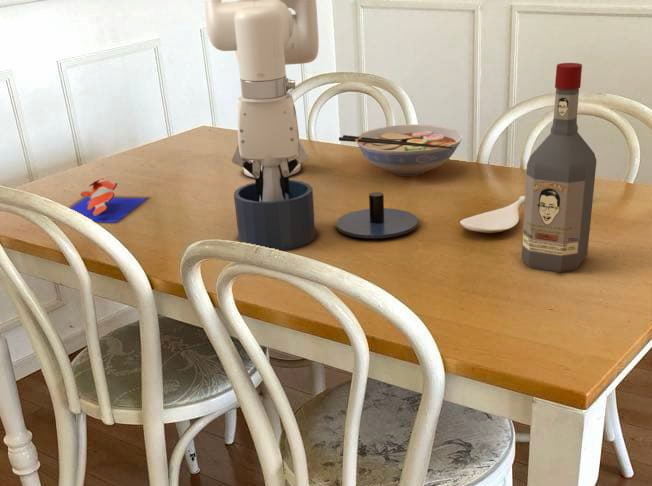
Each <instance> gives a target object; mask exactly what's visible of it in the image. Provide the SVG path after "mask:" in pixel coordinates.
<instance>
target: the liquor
mask: <svg viewBox="0 0 652 486" xmlns="http://www.w3.org/2000/svg"><path fill="white" fill-rule="evenodd" d="M582 70H583V64H582V63H580V62H579V63H578V62H562V63H557V64H556V69H555V83H554V88H555V95H554V96H555V97H554V107H553V108H554V109H553V119H552V125H551V127H550V133H549V134H548V135H547V137H545V139H544V140H542V142H541V144H539V146H538V147H537V148H536V149H535V150H534V151H533V152H532V153H531V154H530V156H529V158H528V160H527V163H526V173H525V191H524V192H525V193H524V196H525V204H524V208H523V226H522V242H521V244H522V245H521V259H522V261H523V263H525V264H526V265H527V266H528V267H529V268H531V269H536V270H543V271H549V272H555V273H565V272H572V271H575V270H576V269H577V268H578V267H579V266H580V265H581V264H582V263H583V261H584V260H585V259H586V257H587V256H588V253H589V241H590V233H591V232H590V231H591V222H592V221H591V220H592V211H593V201H594V192H595V191H594V190H595V180H596V171H597V170H596V169H597V158H596V154H595V152H594V151H593V149H592V148H591V147H590V146H589V145H588V143H587V142H586V141H585V140H584V137H582V136H581V134H580V133H579V126H578V110H579V109H578V108H579V94H580V89H581V85H582V72H583V71H582Z"/></svg>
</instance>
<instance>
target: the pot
mask: <svg viewBox="0 0 652 486" xmlns="http://www.w3.org/2000/svg"><path fill="white" fill-rule="evenodd" d="M289 185H290V194H288V197H289V199H288V200H282V201H271V202H260V195H257V192H256V182H255V181H254V182H251V183H246V184H245V185H242V186H240V187H238V188H237V189H236V190H234V192H233V200H234V209H235V217H236V226H237V235H238V241H239V243H240V242H246V243H251V244H256V245H260V246H265V247H269V248H275V249H279V251H287V250H292V249H293V250H294V249H296V248H300V247H303V246H305V245H307V244H310V243H311V242H312V241H313V240H315V237H316V223H315V209H314V208H315V207H314V205H315V204H314V193H313V187H312V186H311V185H310V184H309V183H307V182H304V181H301V180H295V179H289Z"/></svg>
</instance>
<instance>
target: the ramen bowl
mask: <svg viewBox="0 0 652 486" xmlns="http://www.w3.org/2000/svg"><path fill="white" fill-rule="evenodd" d="M463 137H464V135H463V134H462V132H460V130H456V129H454V128H451V127H447V126H440V125H434V124H433V125H432V124H399V125H388V126H382V127H377V128H373V129H370V130H367V131H364V132H361V133H359V134H358V135H357V136H355V135H348V134H343V135H342V136H340V137H338V141H339V142H351V143H353V142H354V143H356V144H357V146H358V148H359V150H360V152H361V153H362V154H363V156H364V157H365V158H366V160H367V161H368V162H369V163H370V164H372V165H374V166H375V167H376V168H378V169H381V170H383V171H387V172H390V173H392V174H393V175H396V176H401V177H414V176H419V175H420V176H421V175H423V174H425V173H427V172H428V171H431V170H433V169H435V168H438V167H440V166H442V165H444V164H445V163H447V161H449V159H450V158H451V157H452V156H453V154H454V153H455V151H456V150H457V148H458V147H459V146H460V144H461V141H462V140H463Z"/></svg>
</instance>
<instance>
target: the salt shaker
mask: <svg viewBox="0 0 652 486" xmlns="http://www.w3.org/2000/svg"><path fill="white" fill-rule="evenodd" d="M260 165H262V178H263V199H262V201H261V197H260V202H271V201H282V200H285V199H284V197H283V195H282V189H281V186H280V178H281V171H282V170H281V166H280V159H276V158H273V157H272V156H268V157H265V159H262V160H260ZM285 196H286V200H288V199H289V197H288V194H286V192H285Z"/></svg>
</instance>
